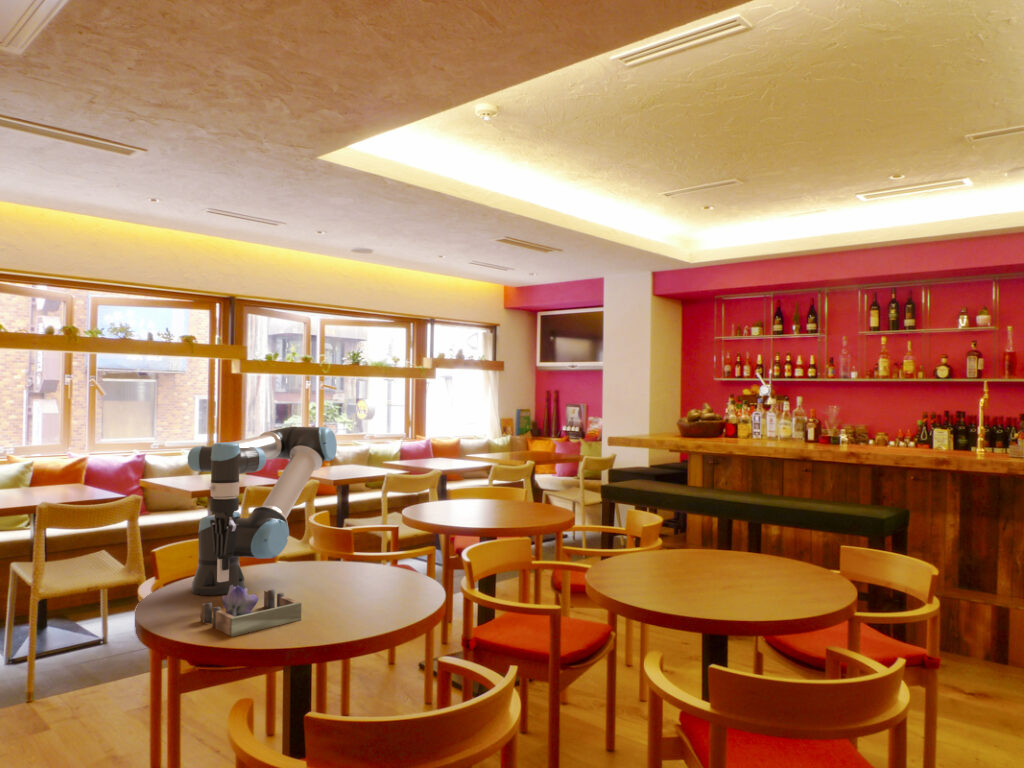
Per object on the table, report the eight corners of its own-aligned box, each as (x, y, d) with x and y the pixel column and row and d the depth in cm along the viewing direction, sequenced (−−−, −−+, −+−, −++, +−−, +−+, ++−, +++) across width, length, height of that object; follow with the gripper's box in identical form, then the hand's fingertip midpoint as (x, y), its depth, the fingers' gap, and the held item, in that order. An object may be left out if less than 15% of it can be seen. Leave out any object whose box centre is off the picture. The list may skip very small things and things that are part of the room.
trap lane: (199, 621, 187) (200, 602, 187) (268, 605, 202) (269, 587, 202) (231, 637, 175) (231, 616, 175) (302, 619, 189) (302, 600, 189)
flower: (252, 598, 185) (246, 574, 193) (219, 614, 183) (215, 589, 191) (265, 621, 190) (259, 596, 198) (234, 636, 188) (229, 611, 196)
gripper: (201, 496, 202) (199, 579, 201) (222, 500, 193) (220, 587, 192) (227, 493, 207) (225, 574, 207) (248, 498, 198) (246, 582, 198)
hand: (222, 581), depth 199 cm, fingers closed
